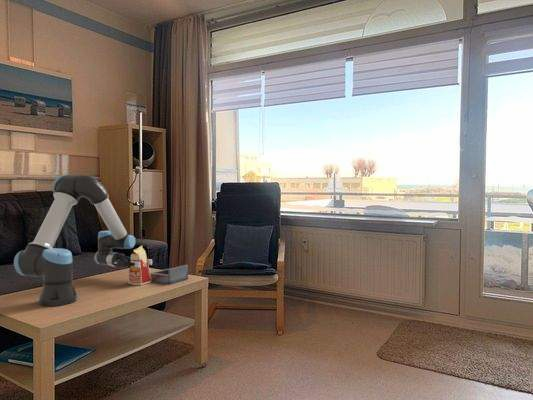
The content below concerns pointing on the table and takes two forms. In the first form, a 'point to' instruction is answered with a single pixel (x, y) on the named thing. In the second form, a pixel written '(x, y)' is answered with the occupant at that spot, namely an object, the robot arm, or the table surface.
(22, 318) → the table surface
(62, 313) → the table surface
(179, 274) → the rack bay
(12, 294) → the table surface
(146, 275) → the milk carton
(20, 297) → the table surface
